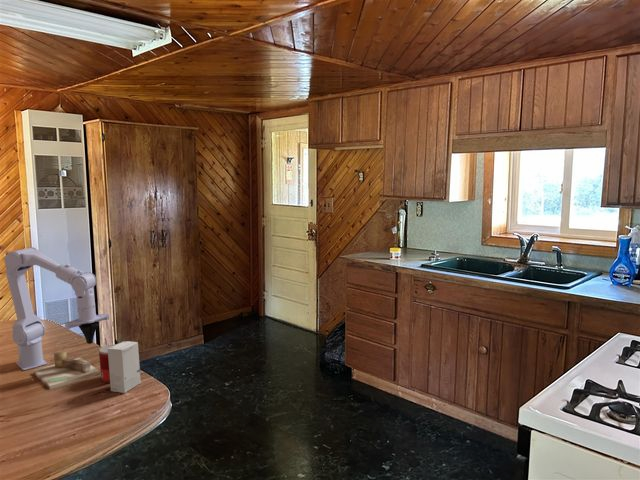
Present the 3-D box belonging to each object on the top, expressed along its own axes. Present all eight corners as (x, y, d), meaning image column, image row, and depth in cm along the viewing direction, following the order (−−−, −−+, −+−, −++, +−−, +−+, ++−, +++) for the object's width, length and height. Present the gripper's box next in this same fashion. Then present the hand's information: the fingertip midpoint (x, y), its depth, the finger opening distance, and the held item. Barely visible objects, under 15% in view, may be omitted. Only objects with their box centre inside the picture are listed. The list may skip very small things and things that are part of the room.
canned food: (116, 384, 159) (114, 353, 157) (96, 382, 160) (93, 351, 159) (130, 374, 166) (128, 345, 164) (110, 372, 168) (108, 343, 166)
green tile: (49, 382, 157) (49, 382, 157) (50, 378, 160) (50, 378, 160) (66, 379, 159) (66, 379, 159) (67, 376, 162) (67, 375, 162)
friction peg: (52, 366, 169) (51, 353, 168) (62, 362, 173) (61, 349, 172) (83, 373, 163) (82, 359, 163) (92, 368, 167) (91, 355, 166)
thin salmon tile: (83, 373, 164) (83, 373, 164) (79, 372, 165) (79, 372, 165) (90, 370, 167) (90, 369, 167) (86, 369, 168) (86, 369, 168)
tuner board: (33, 373, 167) (33, 370, 167) (80, 360, 179) (80, 357, 178) (50, 389, 155) (49, 385, 155) (99, 374, 166) (99, 370, 166)
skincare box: (124, 394, 151) (121, 350, 149) (109, 391, 153) (106, 348, 151) (141, 382, 159) (139, 341, 157) (127, 380, 161) (124, 339, 159)
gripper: (68, 313, 159) (72, 351, 161) (111, 304, 169) (114, 340, 171) (61, 309, 164) (65, 346, 166) (103, 300, 174) (106, 335, 176)
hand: (89, 342), depth 169 cm, fingers closed
